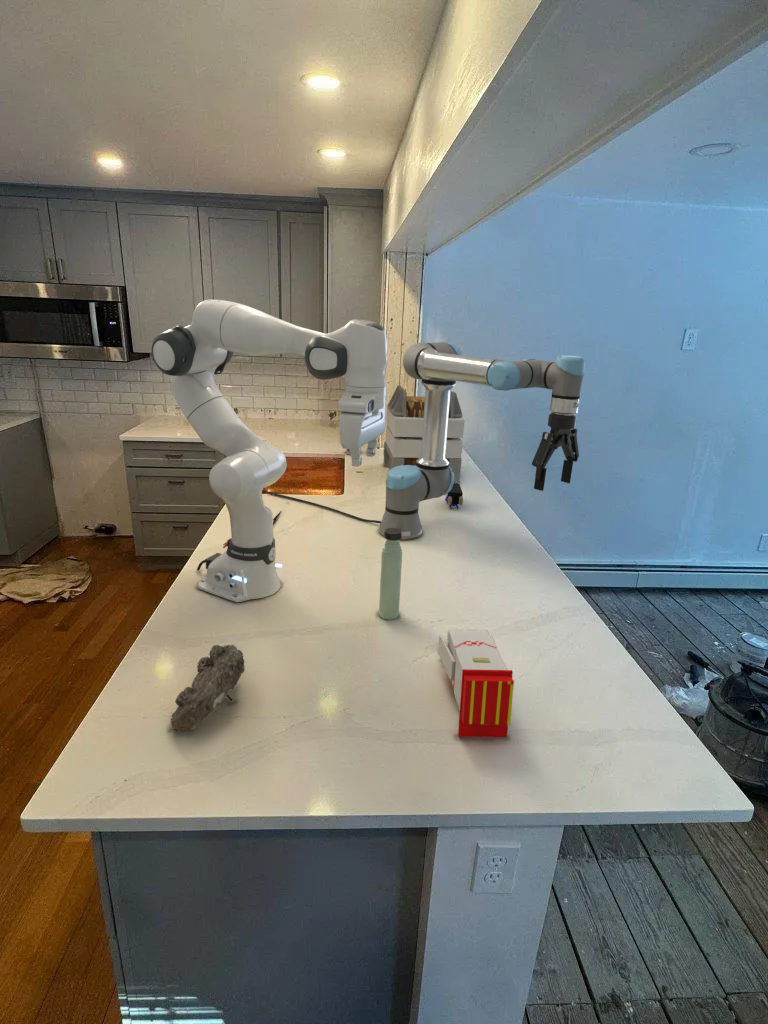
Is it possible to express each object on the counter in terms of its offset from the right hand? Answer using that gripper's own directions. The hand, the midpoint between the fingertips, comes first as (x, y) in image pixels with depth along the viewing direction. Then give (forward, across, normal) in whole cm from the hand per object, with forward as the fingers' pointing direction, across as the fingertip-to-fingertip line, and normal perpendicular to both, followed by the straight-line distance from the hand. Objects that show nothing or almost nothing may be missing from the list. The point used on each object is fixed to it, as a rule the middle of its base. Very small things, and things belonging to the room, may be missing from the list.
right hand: (552, 485), depth 166 cm
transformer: (+28, +46, +101) cm, 115 cm away
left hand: (-14, -64, +9) cm, 66 cm away
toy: (+28, -62, -26) cm, 72 cm away
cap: (+5, -54, +8) cm, 55 cm away
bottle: (+28, -54, +8) cm, 62 cm away
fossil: (+28, -104, +4) cm, 108 cm away
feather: (+28, -39, +88) cm, 101 cm away
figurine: (+28, +43, +149) cm, 158 cm away
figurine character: (+28, +25, +59) cm, 70 cm away
